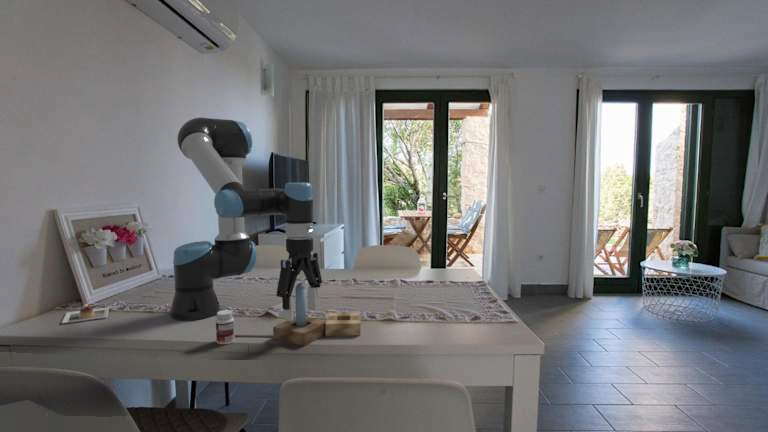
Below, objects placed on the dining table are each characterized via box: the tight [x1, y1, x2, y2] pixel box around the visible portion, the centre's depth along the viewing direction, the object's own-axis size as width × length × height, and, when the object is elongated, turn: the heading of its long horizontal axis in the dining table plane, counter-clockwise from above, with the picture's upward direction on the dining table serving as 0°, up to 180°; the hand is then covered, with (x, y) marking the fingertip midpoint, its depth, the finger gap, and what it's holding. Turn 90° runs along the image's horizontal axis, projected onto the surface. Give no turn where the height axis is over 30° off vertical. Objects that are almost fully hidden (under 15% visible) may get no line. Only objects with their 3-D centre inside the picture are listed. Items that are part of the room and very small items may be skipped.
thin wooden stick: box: [235, 333, 273, 338], centre depth 123 cm, size 16×1×1 cm, turn 88°
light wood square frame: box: [325, 311, 362, 337], centre depth 129 cm, size 10×10×4 cm
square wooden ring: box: [272, 316, 326, 347], centre depth 123 cm, size 11×11×4 cm
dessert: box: [61, 302, 110, 325], centre depth 140 cm, size 12×12×5 cm
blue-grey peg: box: [294, 282, 308, 328], centre depth 123 cm, size 3×3×16 cm
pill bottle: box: [215, 309, 236, 345], centre depth 119 cm, size 5×5×8 cm
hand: (300, 314), depth 123 cm, fingers open, 10 cm apart
